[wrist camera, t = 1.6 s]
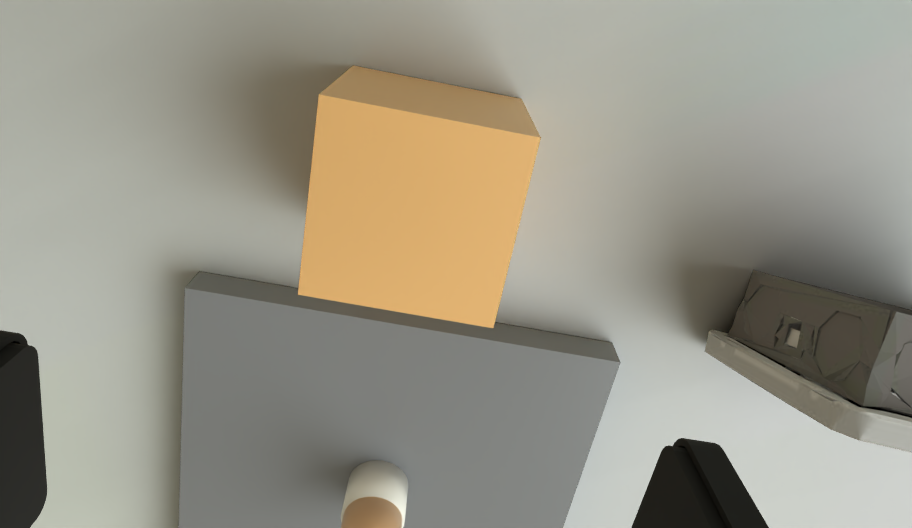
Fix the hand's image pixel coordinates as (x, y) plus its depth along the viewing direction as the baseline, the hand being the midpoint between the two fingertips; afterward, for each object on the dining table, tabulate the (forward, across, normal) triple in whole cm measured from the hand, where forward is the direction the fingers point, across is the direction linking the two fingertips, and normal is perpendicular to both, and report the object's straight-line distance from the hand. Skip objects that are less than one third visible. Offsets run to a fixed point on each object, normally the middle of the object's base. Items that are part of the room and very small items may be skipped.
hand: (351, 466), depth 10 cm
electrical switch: (+16, -17, +2) cm, 24 cm away
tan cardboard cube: (+16, 0, -1) cm, 16 cm away
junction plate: (+16, -1, +13) cm, 21 cm away
